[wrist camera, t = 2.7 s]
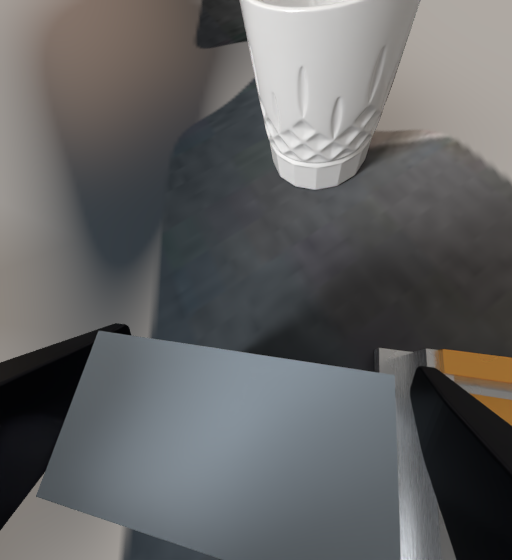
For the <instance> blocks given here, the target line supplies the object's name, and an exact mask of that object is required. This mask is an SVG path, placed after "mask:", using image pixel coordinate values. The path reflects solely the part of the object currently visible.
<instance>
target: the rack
mask: <svg viewBox="0 0 512 560" xmlns="http://www.w3.org/2000/svg"><path fill="white" fill-rule="evenodd" d="M418 366H427V367H434V368H437V369H438V370H439V371H441V372H442V373H443V374H445V375H446V376H447V377H449V378H450V379H451V380H453V381H454V382H455V383H456V384H458V385H459V386H460V387H462V388H463V389H464V390H466V391H467V392H468V393H470V394H471V395H472V396H473V397H475V398H476V399H477V400H479V401H480V402H481V403H483V404H484V405H485V406H487V407H488V408H489V409H490V410H492V411H493V412H494V413H496V414H497V415H498V416H500V417H501V418H502V419H504V420H505V421H506V422H507V423H509V424H510V425H511V426H512V358H511V357H503V356H495V355H487V354H479V353H471V352H463V351H455V350H447V349H441V350H434V349H423V350H419V351H416V352H408V351H400V350H393V349H385V348H378V349H376V350H374V372H377V373H384V374H391V375H395V401H396V432H397V463H398V494H399V525H400V556H401V560H456V557H455V554H454V551H453V548H452V545H451V542H450V539H449V536H448V533H447V530H446V527H445V523H444V520H443V517H442V514H441V511H440V508H439V505H438V502H437V499H436V496H435V493H434V490H433V487H432V484H431V480H430V477H429V474H428V471H427V468H426V465H425V462H424V458H423V455H422V450H421V446H420V442H419V437H418V432H417V427H416V423H415V418H414V413H413V409H412V404H411V399H410V387H411V384H412V380H413V377H414V374H415V371H416V368H417V367H418Z"/></svg>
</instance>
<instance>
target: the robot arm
mask: <svg viewBox="0 0 512 560" xmlns="http://www.w3.org/2000/svg"><path fill="white" fill-rule="evenodd" d="M98 331H104V332H111V333H118V334H124V335H131V333H130V329H129V327H128V326H127V325H125V324H117V323H115V324H112V325H109V326H106V327H103V328H100V329H97V330H94V331H92V332H89V333H86V334H83V335H80V336H77V337H74V338H71V339H68V340H65V341H62V342H59V343H56V344H53V345H51V346H48V347H45V348H42V349H39V350H36V351H33V352H30V353H27V354H24V355H21V356H18V357H15V358H13V359H10V360H7V361H4V362H1V363H0V530H1V529H2V528H3V526H4V525H5V524H6V522H7V521H8V519H9V518H10V517H11V516H12V514H13V513H14V512H15V510H16V509H17V508H18V507H19V505H20V504H21V503H22V501H23V500H24V499H25V497H26V496H27V495H28V493H29V492H30V491H31V489H32V488H33V487H34V486H35V484H36V483H37V482H38V480H39V479H40V478H41V476H42V475H43V474H44V472H45V471H46V469H47V466H48V463H49V461H50V458H51V455H52V453H53V450H54V447H55V445H56V442H57V439H58V437H59V434H60V431H61V429H62V426H63V423H64V421H65V418H66V416H67V413H68V410H69V408H70V405H71V402H72V400H73V397H74V394H75V392H76V389H77V386H78V384H79V381H80V378H81V376H82V373H83V371H84V368H85V365H86V363H87V360H88V357H89V355H90V352H91V349H92V347H93V344H94V341H95V339H96V336H97V333H98ZM410 399H411V404H412V409H413V413H414V418H415V423H416V427H417V432H418V437H419V442H420V446H421V450H422V455H423V458H424V462H425V465H426V468H427V471H428V474H429V477H430V480H431V484H432V487H433V490H434V493H435V496H436V499H437V502H438V505H439V508H440V511H441V514H442V517H443V520H444V523H445V527H446V530H447V533H448V536H449V539H450V542H451V545H452V548H453V551H454V554H455V557H456V560H512V426H511V425H510V424H509V423H507V422H506V421H505V420H504V419H502V418H501V417H500V416H498V415H497V414H496V413H494V412H493V411H492V410H490V409H489V408H488V407H487V406H485V405H484V404H483V403H481V402H480V401H479V400H477V399H476V398H475V397H473V396H472V395H471V394H470V393H468V392H467V391H466V390H464V389H463V388H462V387H460V386H459V385H458V384H456V383H455V382H454V381H453V380H451V379H450V378H449V377H447V376H446V375H445V374H443V373H442V372H441V371H439V370H438V369H437V368H434V367H427V366H418V367H417V368H416V371H415V374H414V377H413V380H412V384H411V387H410Z"/></svg>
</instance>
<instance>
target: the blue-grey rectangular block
mask: <svg viewBox="0 0 512 560" xmlns="http://www.w3.org/2000/svg"><path fill="white" fill-rule="evenodd" d="M36 497H39V498H42V499H45V500H48V501H51V502H54V503H57V504H60V505H63V506H65V507H69V508H71V509H74V510H77V511H81V512H83V513H86V514H89V515H92V516H95V517H98V518H101V519H104V520H107V521H110V522H113V523H116V524H119V525H122V526H125V527H128V528H131V529H133V530H136V531H139V532H142V533H145V534H148V535H151V536H154V537H157V538H160V539H163V540H166V541H169V542H172V543H175V544H178V545H181V546H184V547H187V548H190V549H193V550H196V551H199V552H201V553H204V554H207V555H210V556H213V557H216V558H219V559H222V560H401V556H400V525H399V494H398V463H397V432H396V401H395V375H391V374H384V373H377V372H371V371H364V370H357V369H351V368H344V367H337V366H331V365H324V364H317V363H311V362H304V361H297V360H291V359H284V358H277V357H271V356H264V355H257V354H251V353H244V352H237V351H231V350H224V349H217V348H211V347H204V346H197V345H191V344H184V343H178V342H171V341H164V340H158V339H151V338H144V337H137V336H131V335H124V334H118V333H111V332H104V331H98V333H97V336H96V339H95V341H94V344H93V347H92V349H91V352H90V355H89V357H88V360H87V363H86V365H85V368H84V371H83V373H82V376H81V378H80V381H79V384H78V386H77V389H76V392H75V394H74V397H73V400H72V402H71V405H70V408H69V410H68V413H67V416H66V418H65V421H64V423H63V426H62V429H61V431H60V434H59V437H58V439H57V442H56V445H55V447H54V450H53V453H52V455H51V458H50V461H49V463H48V466H47V469H46V471H45V474H44V477H43V479H42V482H41V484H40V487H39V490H38V492H37V495H36Z"/></svg>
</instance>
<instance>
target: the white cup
mask: <svg viewBox="0 0 512 560" xmlns="http://www.w3.org/2000/svg"><path fill="white" fill-rule="evenodd" d="M419 3H420V0H240V5H241V10H242V15H243V20H244V25H245V30H246V35H247V40H248V45H249V50H250V55H251V60H252V65H253V70H254V76H255V81H256V86H257V91H258V96H259V100H260V104H261V108H262V112H263V116H264V123H265V127H266V131H267V135H268V138H269V141H270V146H271V151H272V157H273V162H274V164H275V166H276V168H277V171H278V173H279V175H280V176H281V177H282V178H283V179H285V180H286V181H288V182H289V183H291V184H292V185H294V186H296V187H302V188H307V189H313V190H318V189H323V188H329V187H334V186H338V185H339V184H341V183H343V182H344V181H346V180H348V179H349V178H351V177H353V176H354V175H355V174H356V173H357V171H358V170H359V168H360V166H361V165H362V163H363V162H364V160H365V158H366V155H367V152H368V149H369V145H370V142H371V139H372V136H373V134H374V132H375V130H376V127H377V125H378V122H379V120H380V117H381V114H382V111H383V107H384V105H385V102H386V100H387V98H388V95H389V92H390V89H391V87H392V84H393V81H394V78H395V75H396V72H397V69H398V66H399V63H400V60H401V57H402V54H403V51H404V48H405V45H406V42H407V39H408V36H409V33H410V30H411V27H412V24H413V21H414V18H415V15H416V12H417V9H418V6H419Z"/></svg>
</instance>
